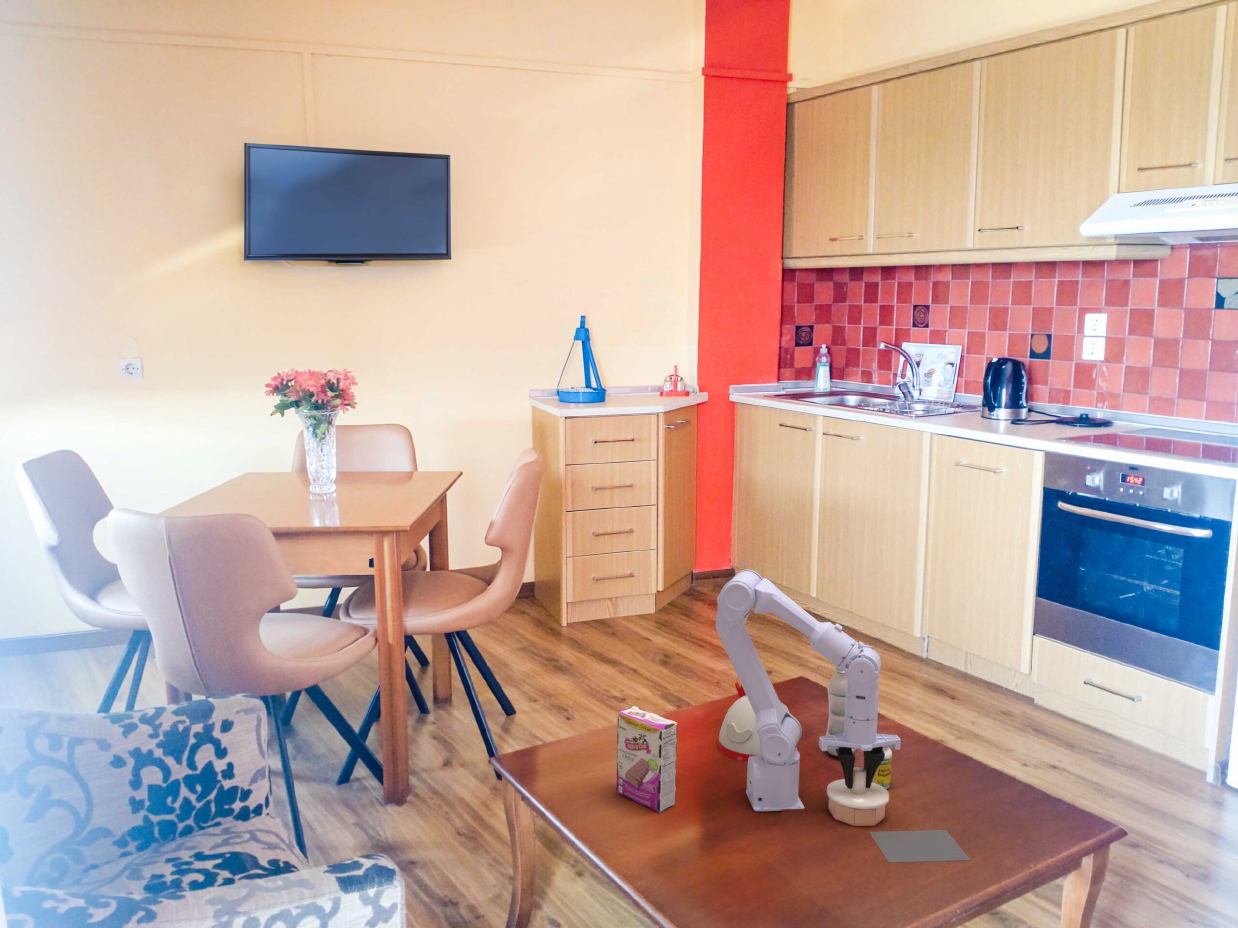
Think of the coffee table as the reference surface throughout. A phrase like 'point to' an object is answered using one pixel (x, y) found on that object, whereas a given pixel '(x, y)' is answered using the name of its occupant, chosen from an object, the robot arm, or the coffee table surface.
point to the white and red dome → (740, 730)
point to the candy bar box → (646, 758)
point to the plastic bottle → (837, 704)
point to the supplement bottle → (884, 770)
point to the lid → (858, 792)
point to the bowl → (856, 814)
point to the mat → (918, 846)
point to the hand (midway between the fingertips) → (857, 785)
